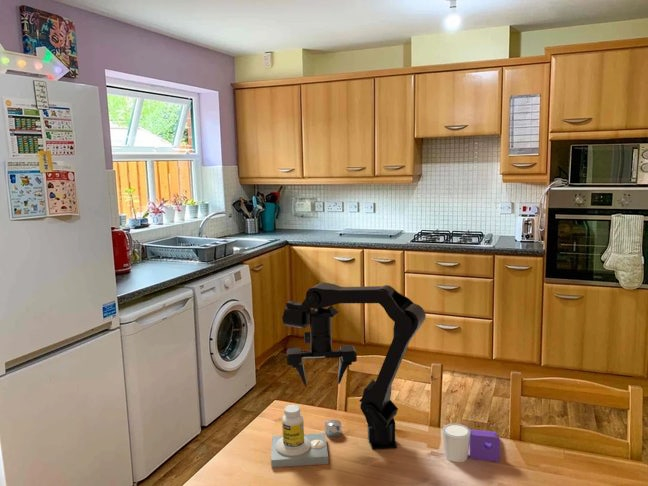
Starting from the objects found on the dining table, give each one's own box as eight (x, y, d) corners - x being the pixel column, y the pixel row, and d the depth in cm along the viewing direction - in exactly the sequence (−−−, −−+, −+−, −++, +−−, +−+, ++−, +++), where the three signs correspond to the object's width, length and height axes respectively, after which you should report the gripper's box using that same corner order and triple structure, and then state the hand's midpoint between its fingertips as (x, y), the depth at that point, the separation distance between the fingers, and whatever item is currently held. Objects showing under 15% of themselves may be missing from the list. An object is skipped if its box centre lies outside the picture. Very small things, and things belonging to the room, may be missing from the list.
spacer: (340, 429, 147) (340, 419, 147) (342, 437, 143) (341, 427, 142) (324, 429, 147) (324, 419, 146) (325, 438, 143) (325, 428, 142)
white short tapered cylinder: (474, 454, 133) (475, 429, 132) (461, 467, 128) (462, 440, 127) (450, 445, 138) (450, 420, 137) (436, 456, 133) (437, 431, 132)
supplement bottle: (280, 448, 133) (278, 412, 132) (286, 437, 139) (284, 402, 137) (301, 450, 132) (299, 414, 131) (306, 439, 138) (305, 403, 136)
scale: (324, 439, 142) (324, 430, 141) (328, 463, 131) (328, 454, 131) (272, 443, 141) (272, 434, 140) (271, 467, 130) (271, 457, 130)
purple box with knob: (499, 463, 130) (500, 437, 129) (470, 460, 132) (470, 434, 131) (495, 437, 142) (496, 413, 140) (468, 434, 143) (469, 411, 142)
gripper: (351, 319, 151) (352, 370, 154) (285, 322, 150) (287, 374, 153) (356, 332, 140) (357, 387, 143) (285, 335, 139) (288, 391, 142)
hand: (322, 384), depth 145 cm, fingers open, 9 cm apart
